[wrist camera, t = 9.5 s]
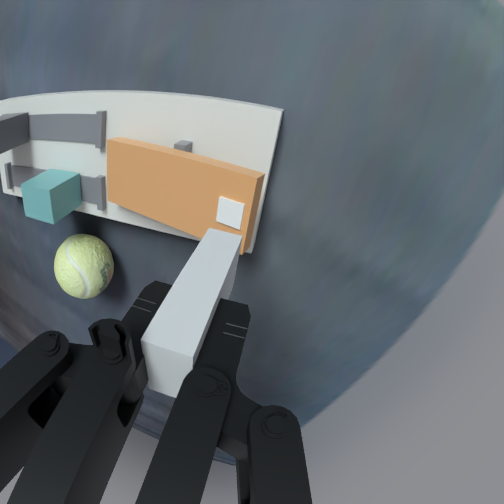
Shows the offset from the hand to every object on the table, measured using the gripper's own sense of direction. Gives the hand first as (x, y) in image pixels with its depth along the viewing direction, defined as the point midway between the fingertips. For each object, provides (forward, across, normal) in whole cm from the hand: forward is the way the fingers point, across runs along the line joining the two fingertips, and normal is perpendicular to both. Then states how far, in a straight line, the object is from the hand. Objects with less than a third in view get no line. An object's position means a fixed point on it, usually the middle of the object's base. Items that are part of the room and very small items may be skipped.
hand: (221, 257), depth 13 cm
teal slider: (+8, -17, -2) cm, 19 cm away
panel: (+10, -14, +1) cm, 18 cm away
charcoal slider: (+8, -24, +3) cm, 26 cm away
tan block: (+6, -5, 0) cm, 8 cm away
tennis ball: (+11, -16, -11) cm, 22 cm away
